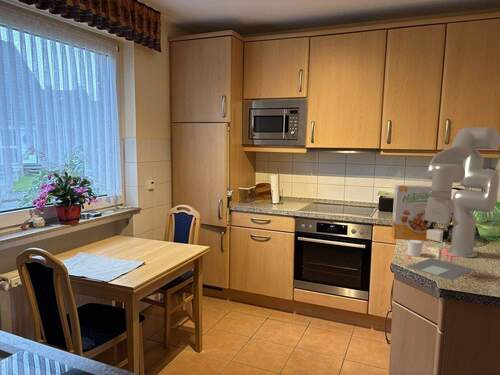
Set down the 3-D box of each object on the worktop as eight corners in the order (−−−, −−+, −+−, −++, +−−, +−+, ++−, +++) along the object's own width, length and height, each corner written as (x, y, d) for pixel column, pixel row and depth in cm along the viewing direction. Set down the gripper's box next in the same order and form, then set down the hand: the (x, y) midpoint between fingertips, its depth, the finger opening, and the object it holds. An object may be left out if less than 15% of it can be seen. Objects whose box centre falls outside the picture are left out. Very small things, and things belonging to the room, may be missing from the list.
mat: (431, 258, 174) (431, 257, 174) (475, 270, 159) (475, 269, 159) (406, 267, 162) (406, 266, 162) (451, 281, 147) (451, 279, 146)
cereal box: (394, 239, 209) (397, 186, 206) (391, 236, 215) (394, 184, 212) (436, 241, 206) (440, 187, 203) (432, 238, 212) (436, 185, 209)
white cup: (403, 253, 182) (404, 239, 181) (417, 253, 183) (418, 239, 182) (410, 257, 176) (411, 243, 175) (424, 257, 176) (425, 243, 175)
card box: (439, 241, 151) (440, 232, 151) (426, 238, 156) (426, 230, 155) (449, 238, 156) (449, 230, 156) (435, 235, 160) (436, 227, 160)
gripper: (416, 193, 158) (413, 234, 160) (458, 198, 145) (454, 244, 147) (425, 192, 163) (422, 232, 165) (467, 197, 149) (463, 241, 151)
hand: (437, 237), depth 156 cm, fingers closed on card box, 5 cm apart
